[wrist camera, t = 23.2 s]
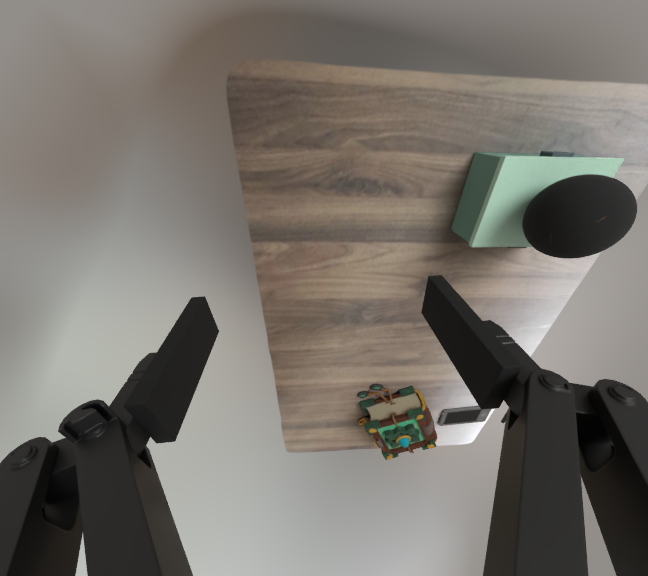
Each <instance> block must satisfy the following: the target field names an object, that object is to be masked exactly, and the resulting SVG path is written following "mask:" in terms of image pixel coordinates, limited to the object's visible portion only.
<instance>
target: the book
mask: <svg viewBox="0 0 648 576" xmlns="http://www.w3.org/2000/svg"><path fill="white" fill-rule="evenodd" d="M371 389H372V390H382V391H384V392H387V391H388V393H389V397H386V398H385V397H384V396H382V395H381V394H380V393H377V392H371V391H370V392H367V391H364V392H360V393H358V397H360V398H364V397H367V396H370V397H371V394H377V395H379V396H380V397H382V399H379V400H376V401H374V399H373V398H372V399H369V400H365V401H362V402H360V405H361V408H362V410H363V411H364V413H365V414H366V413H367V414H368V416H369V418H367V417H363V418H362V419H360V420H359V422H358V424H359V425H360V426H361V425H365V429H366V431H367V432H368V434H369V435H372V438H373V440H374V443H375V446H376V447H377V445H378V447H379V448H381V449H382V454H383V456H384V457H385V459H391V458H395V457H397V456H398V453H401V452H405V451H409V452H412V453H413V449H416V448H420V447H422V448H423V450H425V449H429V448H433V447H436V444H435V442H436V440H437V434H436V431H435V428H434V422H433V419H432V416H431V413H430V411H429V409H428V408H427V406H426V403H425V400H424V398H423V396H422V394H421V393H420V392H419V391H417V390H414V388H413V386H411V387H408V388H404V389H401V390H399V392H400V393H399V394H395V395H392V396H391V392H390V390H389V389H386V388H384V389H383V386H382V385H379V384H374V385H372V386H371ZM361 421H363V422H361Z"/></svg>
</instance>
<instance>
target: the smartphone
mask: <svg viewBox="0 0 648 576" xmlns="http://www.w3.org/2000/svg"><path fill="white" fill-rule="evenodd" d="M490 410H491V409H484V410H481V408H480V406H476V407H466V408H456V409H447V410H443V412H442V415H441V417H440V420H439V423H438V424H439V426H444V425H453V424H463V423H473V422H483V421H485V420H486V418H487V416H488V414H489V412H490Z"/></svg>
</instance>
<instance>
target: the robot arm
mask: <svg viewBox="0 0 648 576" xmlns="http://www.w3.org/2000/svg"><path fill="white" fill-rule="evenodd" d="M421 313H422V314H423V316H424V318H425V319H426V321H427V322H428V324H429V326H430V327H431V329H432V330H433V332H434V334H435V335H436V337H437V339H438V340H439V342H440V343H441V345H442V347H443V348H444V350H445V351H446V353H447V355H448V356H449V358H450V360H451V361H452V363H453V364H454V366H455V368H456V369H457V371H458V372H459V374H460V376H461V377H462V379H463V381H464V382H465V384H466V385H467V387H468V389H469V390H470V392H471V394H472V395H473V397H474V398H475V400H476V402H477V403H478V405H479V406H480V408H481V410H484V409H494V408H499V407H500V405H501V403H502V402H503V400H504V401H505V402H506V403H507V405H508V406H509V409H508V411H507V413H506V414H505V415H504V417H503V419H502V421H501V422H502V423H504V422H505V421H506V422H505V429H504V436H503V443H502V450H501V456H500V463H499V470H498V477H497V484H496V491H495V498H494V504H493V512H492V518H491V525H490V532H489V539H488V545H487V552H486V559H485V566H484V573H483V576H588V567H587V553H586V540H585V526H584V513H583V502H582V501H583V500H582V487H581V477H582V479H583V482H584V485H585V488H586V491H587V494H588V496H589V499H590V502H591V505H592V508H593V510H594V513H595V516H596V519H597V522H598V525H599V527H600V530H601V533H602V536H603V539H604V541H605V544H606V547H607V550H608V553H609V555H610V558H611V561H612V564H613V567H614V570H615V572H616V575H617V576H648V402H647V401H646V399H645V398H644V397H643V396H642V395H641V394H640V393H638V392H637V391H636V390H634V389H633V388H631V387H629V386H627V385H625V384H623V383H620V382H617V381H614V380H608V379H603V380H599V381H598V382H597V383H596V384H595V386H594V387H591V386H585V385H579V384H573V383H569V382H568V381H567V380H566V379H564V378H563V377H561V376H560V375H558V374H556V373H554V372H552V371H549V370H545V369H541V368H540V367H539V366H538V365H537V364H536V363H535V362H534V361H533V360H532V359H531V358H530V356H529V355H528V354H527V353H526V352H525V351H524V350H523V349H522V348H521V347H520V346H519V345H518V344H517V343H515V341H514V340H513V339H512V338H511V337H509V335H508V334H507V333H506V332H505V330H504V329H503V328H502V327H500V326H499V325H497V324H495V323H494V322H492V321H491V320H488V321H482V320H481V319H480V318H479V317H478V315H477V314H476V313H475V312H474V311H473V310H472V309H471V308H470V307H469V305H468V304H467V303H466V302H465V301H464V300H463V299H462V298H461V297H460V295H459V294H458V293H457V292H456V291H455V290H454V289H453V288H452V287H451V285H450V284H449V283H448V282H447V281H446V280H445V279H444V278H443V276H442V275H438V276H429V277H428V282H427V287H426V292H425V297H424V302H423V307H422V312H421ZM218 332H219V330H218V328H217V325H216V323H215V320H214V318H213V315H212V313H211V310H210V308H209V305H208V303H207V301H206V298H205V297H193V298H191V299H190V301H189V303H188V304H187V306H186V307H185V309H184V310H183V312H182V314H181V315H180V317H179V319H178V320H177V322H176V323H175V325H174V327H173V328H172V329H171V331H170V333H169V334H168V336H167V337H166V339H165V341H164V342H163V344H162V345H161V347H160V349H159V350H158V352H157V353H149V354H148V355H147V356H146V357H145V358H144V359H142V360H141V361H140V362H139V364H138V365H137V366H136V368H135V369H134V371H133V374H131V375H130V377H129V378H128V380H127V382H126V383H125V384H124V386H123V387H122V388H121V390H120V391H119V393H118V394H117V396H116V397H115V399H114V400H113V402H112V403H111V405H110V406H107V404H106V403H105V402H104V401H102V400H93V401H89V402H87V403H84V404H82V405H80V406H79V407H77V408H76V409H74V410H73V411H72V412H70V413H69V414H68V415H67V416H66V417H65V418H64V420H63V421H62V423H61V424H60V426H59V430H58V432H60V433H61V434H62V435H63V436H65V437H66V438H64V439H61V440H58V441H56V442H53V443H52V442H51V441H49V440H48V439H46V438H45V437H38V438H35V439H31V440H29V441H27V442H25V443H23V444H22V445H20V446H18V447H17V448H16V449H14V450H13V451H12V452H11V453H9V454H8V455H7V456H6V457H5V459H4V460H3V461H2V462H1V463H0V576H75V574H76V568H77V562H78V556H79V550H80V544H81V539H82V533H83V536H84V545H85V554H86V564H87V573H88V576H193V574H192V571H191V569H190V565H189V563H188V560H187V557H186V554H185V551H184V549H183V546H182V543H181V540H180V537H179V534H178V531H177V528H176V526H175V523H174V520H173V517H172V514H171V511H170V508H169V506H168V502H167V500H166V497H165V494H164V491H163V488H162V485H161V483H160V480H159V477H158V474H157V472H156V468H155V465H154V463H153V460H152V457H151V454H150V451H149V449H148V448H147V446H146V444H147V442H148V440H149V438H150V437H151V438H152V439H153V440H154V441H155V442H156V443H165V442H173V441H175V440H176V438H177V435H178V433H179V430H180V428H181V425H182V423H183V420H184V418H185V415H186V412H187V410H188V408H189V405H190V403H191V400H192V398H193V395H194V392H195V390H196V387H197V385H198V382H199V380H200V378H201V375H202V372H203V370H204V367H205V365H206V362H207V360H208V357H209V355H210V352H211V350H212V347H213V345H214V342H215V340H216V337H217V335H218Z"/></svg>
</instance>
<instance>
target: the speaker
mask: <svg viewBox="0 0 648 576" xmlns="http://www.w3.org/2000/svg"><path fill="white" fill-rule="evenodd" d="M636 214H637V203H636V199H635V196H634V194H633V193H632V191H631V190H630V189H629V188H628V187H627V186H626V185H625V184H623V183H622V182H620V181H619V180H617V179H614V178H611V177H608V176H604V175H597V174H585V175H577V176H572V177H568V178H565V179H562V180H560V181H557V182H555V183H553V184H551V185H549V186H548V187H546V188H545V189H543V190H542V191H541V192H540V193H538V194H537V195H536V196H535V197H534V198H533V199H532V201H531V202H530V203H529V205H528V206H527V208H526V210H525V213H524V216H523V221H522V228H523V233H524V235H525V237H526V239H527V241H528V242H529V243H530V244H531V245H532V246H533V247H534V248H535V249H536V250H538V251H540V252H542V253H544V254H546V255H549V256H553V257H558V258H580V257H585V256H590V255H593V254H596V253H599V252H601V251H603V250H605V249H607V248H609V247H611V246H612V245H614V244H615V243H617V242H618V241H619V240H620V239H622V238H623V237H624V236H625V235H626V234H627V232H628V231H629V230H630V228H631V227H632V225H633V223H634V221H635V218H636Z"/></svg>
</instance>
